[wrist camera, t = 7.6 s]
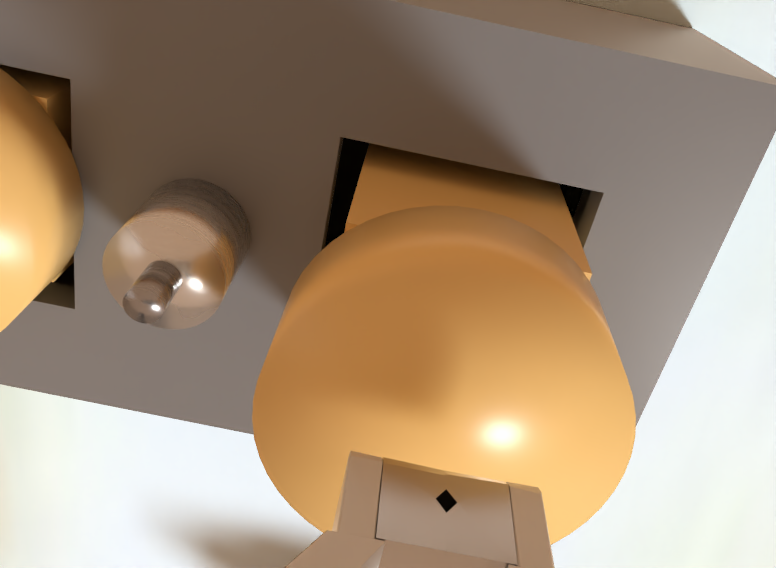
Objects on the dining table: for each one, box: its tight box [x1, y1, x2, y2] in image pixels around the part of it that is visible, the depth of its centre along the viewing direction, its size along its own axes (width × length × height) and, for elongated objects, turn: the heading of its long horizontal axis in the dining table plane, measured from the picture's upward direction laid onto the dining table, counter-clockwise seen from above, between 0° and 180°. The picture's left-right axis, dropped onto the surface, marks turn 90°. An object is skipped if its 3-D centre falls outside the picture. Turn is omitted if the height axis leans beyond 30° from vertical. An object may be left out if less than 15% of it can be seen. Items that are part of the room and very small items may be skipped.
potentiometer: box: [102, 178, 251, 329], centre depth 16 cm, size 3×3×4 cm
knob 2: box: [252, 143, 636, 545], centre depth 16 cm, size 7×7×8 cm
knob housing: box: [0, 0, 776, 434], centre depth 20 cm, size 12×24×7 cm, turn 79°
